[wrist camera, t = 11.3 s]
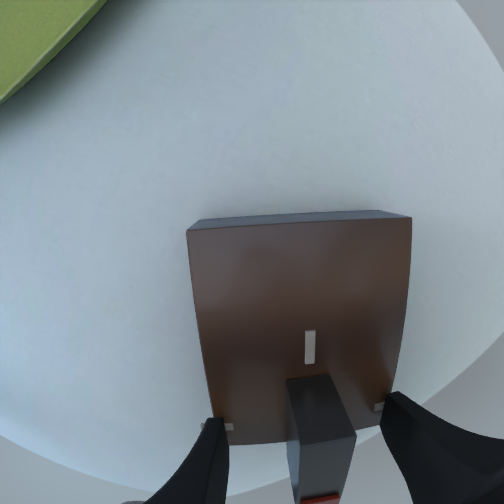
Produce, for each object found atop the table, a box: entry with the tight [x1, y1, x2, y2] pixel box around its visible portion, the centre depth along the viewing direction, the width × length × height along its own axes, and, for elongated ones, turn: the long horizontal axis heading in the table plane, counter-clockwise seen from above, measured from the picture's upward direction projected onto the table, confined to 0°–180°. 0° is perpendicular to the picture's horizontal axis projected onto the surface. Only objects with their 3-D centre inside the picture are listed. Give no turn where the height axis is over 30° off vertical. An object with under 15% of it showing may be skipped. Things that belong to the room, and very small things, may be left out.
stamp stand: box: [186, 210, 412, 445], centre depth 12 cm, size 13×9×3 cm
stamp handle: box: [286, 374, 357, 504], centre depth 10 cm, size 5×2×4 cm, turn 4°
